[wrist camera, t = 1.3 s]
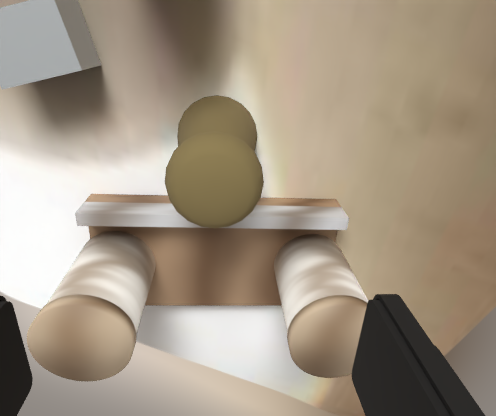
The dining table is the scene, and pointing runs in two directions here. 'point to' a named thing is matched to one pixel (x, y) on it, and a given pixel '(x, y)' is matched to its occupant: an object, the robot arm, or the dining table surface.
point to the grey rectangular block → (43, 41)
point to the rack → (201, 281)
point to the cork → (215, 164)
